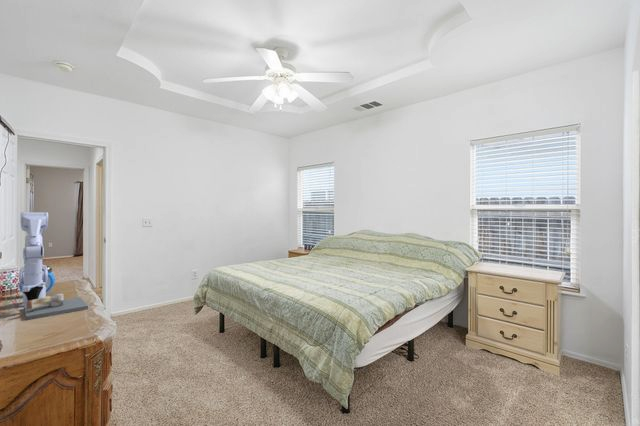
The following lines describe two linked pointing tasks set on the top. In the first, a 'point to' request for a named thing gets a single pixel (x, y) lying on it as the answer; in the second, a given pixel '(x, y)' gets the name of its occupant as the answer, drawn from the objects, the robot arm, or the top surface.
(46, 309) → the latch plate
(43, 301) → the grey beige handled piece
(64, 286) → the top surface
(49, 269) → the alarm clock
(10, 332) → the top surface
